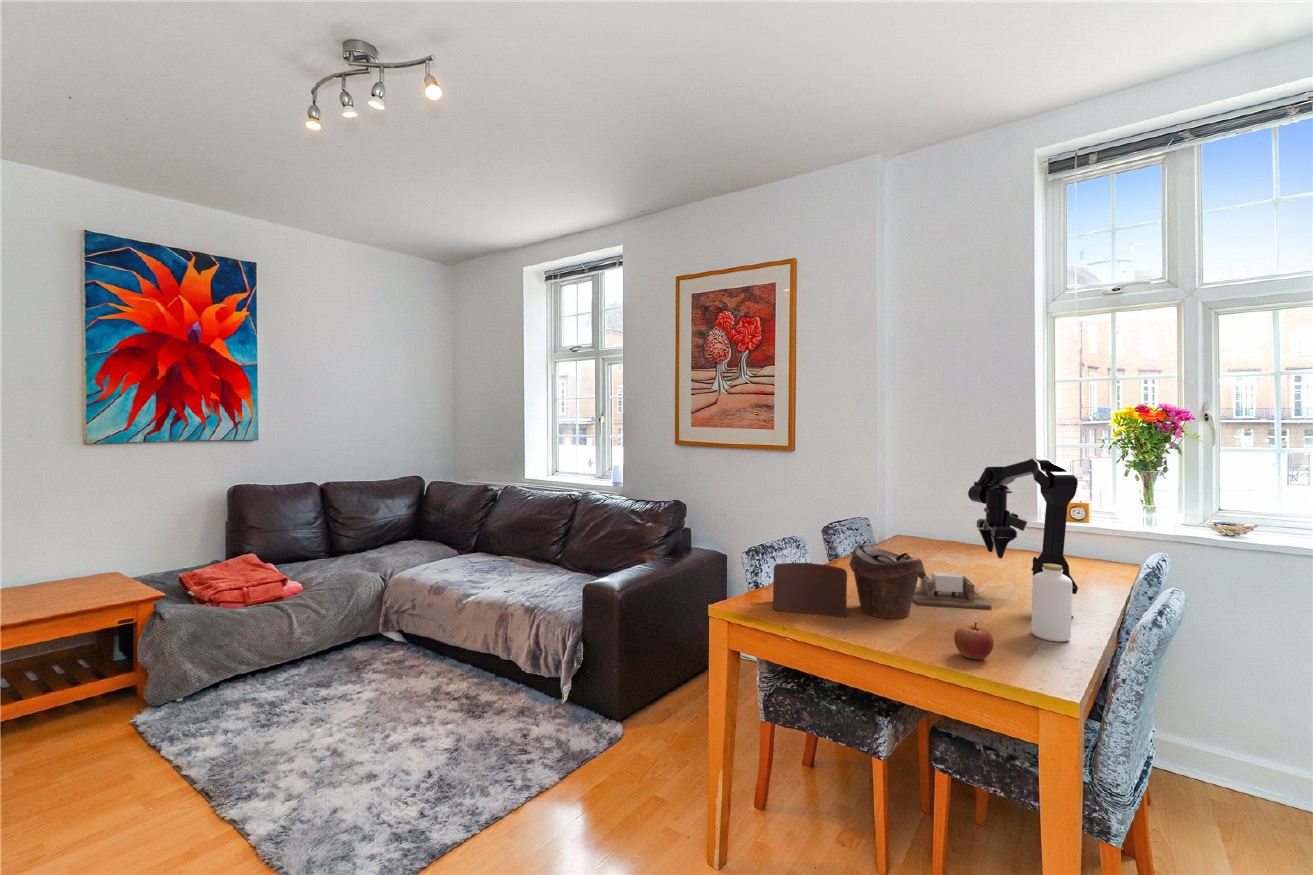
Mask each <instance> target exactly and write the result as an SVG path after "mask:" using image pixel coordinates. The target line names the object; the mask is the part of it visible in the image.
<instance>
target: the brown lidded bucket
mask: <svg viewBox="0 0 1313 875" xmlns="http://www.w3.org/2000/svg"><path fill="white" fill-rule="evenodd" d="M849 567H850V569H851V571H852V572H853V575H854V581H855V586H856V590H857V592H856V593H857V597H858V602H859V606H860V610H861V611H862V612H863V613H864V614H867V615H869V616H872V617H874V618H881V619H889V620H890V619H893V620H894V619H895V620H897V619H898V620H899V619H904V618H907V617H909V616H910V613H911V608H912V602H913V601H914V600H913V596H914V592H915V588H916V587H917V584H918V581H919V580H918V579H920V580H921V579H923V578H924V577H925V576H927V573H926V570H925V568H924V564H923V561H922V559H920V558H919V557H911V555H910V554H908V553H907V552H904V553H901V554H897V553H894V552H891V551H887V550H885V549H882V548H880V547H879V548H878V547H875V546H872V545H868V544H864V543H863V544H861V543H859V544H857V545H856V546H855V547H854V548H853V550H852V554H851V558H850V560H849Z"/></svg>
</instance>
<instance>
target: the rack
mask: <svg viewBox="0 0 1313 875" xmlns="http://www.w3.org/2000/svg"><path fill="white" fill-rule="evenodd" d="M961 576H962V577H963V592H949V591H935V590H934V589H933V582H932V579H930V578H929V577H928V575H926V576H925V577H924V578H923V579H920V587H919V586H918V587H917V586H916V588H915V592H914V596H913V600H912V601H913V602H914V604H916V606H917V605H918V606H928V607H929V606H931V607H948V608H964V609H979V610H992V605H991V604H990V603H989V602H988V601H986V600H985V599H984V598H983V597H982V596H981V595H980V594H979V593H978V592H976V591H975V584H974V583H973V582H972V581H970V580H969V579H968V578H967V577H966V576H964V575H961Z"/></svg>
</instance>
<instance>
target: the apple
mask: <svg viewBox="0 0 1313 875" xmlns="http://www.w3.org/2000/svg"><path fill="white" fill-rule="evenodd" d="M977 624H978V623H977V622H974V624H970V623H969V624H968V623H967V624H963V625H961V626H959V627H958V628H957V629H956V630H955V633H954V636H953V639H954V640H953V641H954V646H955V648H956V649H957V650H958V652H959V653H960V655H962V656H964V657H965V658H968V659H973V660H983V659H986V658H987V657H988V656H989V655H991V653H992V651H993V649H994V638H993V635H992V634H991V633H990V631H989V630H988V629H987V628H984V627H981V626H979V625H977Z"/></svg>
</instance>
